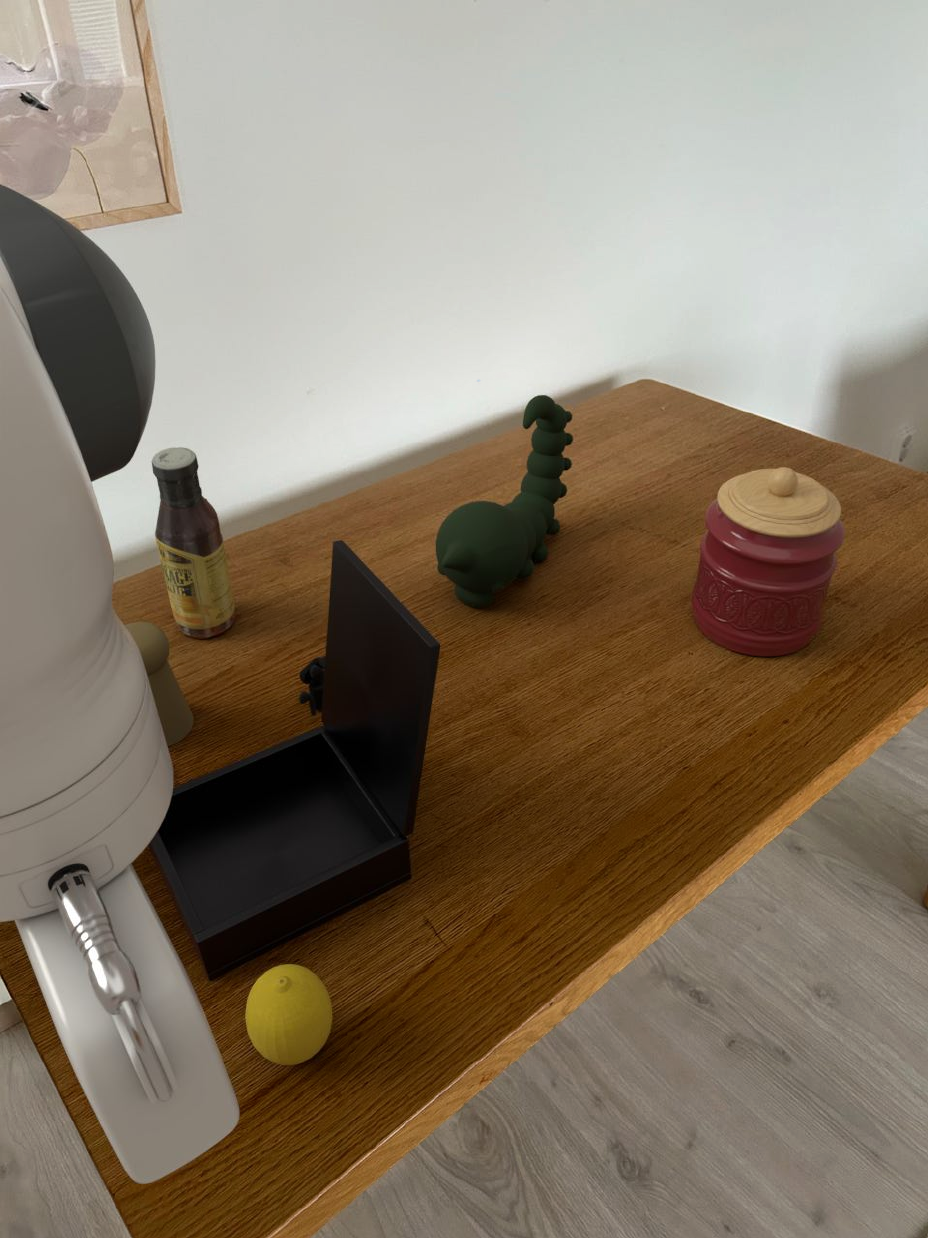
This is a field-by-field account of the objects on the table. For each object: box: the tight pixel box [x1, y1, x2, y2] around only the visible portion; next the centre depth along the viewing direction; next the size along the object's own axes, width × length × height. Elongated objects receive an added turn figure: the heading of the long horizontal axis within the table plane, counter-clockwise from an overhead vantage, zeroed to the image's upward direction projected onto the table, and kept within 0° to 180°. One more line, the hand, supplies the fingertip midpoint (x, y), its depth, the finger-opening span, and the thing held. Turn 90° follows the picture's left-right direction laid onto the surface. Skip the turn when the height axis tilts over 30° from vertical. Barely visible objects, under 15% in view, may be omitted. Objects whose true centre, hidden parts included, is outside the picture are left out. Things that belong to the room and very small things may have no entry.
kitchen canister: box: [691, 466, 846, 657], centre depth 96 cm, size 13×13×18 cm
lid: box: [320, 539, 442, 837], centre depth 74 cm, size 18×15×1 cm
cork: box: [124, 621, 195, 747], centre depth 87 cm, size 6×6×11 cm
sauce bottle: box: [151, 446, 236, 640], centre depth 96 cm, size 6×6×20 cm
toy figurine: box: [435, 394, 574, 609], centre depth 103 cm, size 9×19×25 cm
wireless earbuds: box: [298, 655, 325, 717], centre depth 91 cm, size 7×2×5 cm, turn 149°
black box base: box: [147, 724, 412, 982], centre depth 77 cm, size 17×15×5 cm
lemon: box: [244, 963, 334, 1066], centre depth 64 cm, size 6×6×8 cm
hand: (118, 991), depth 40 cm, fingers open, 8 cm apart
